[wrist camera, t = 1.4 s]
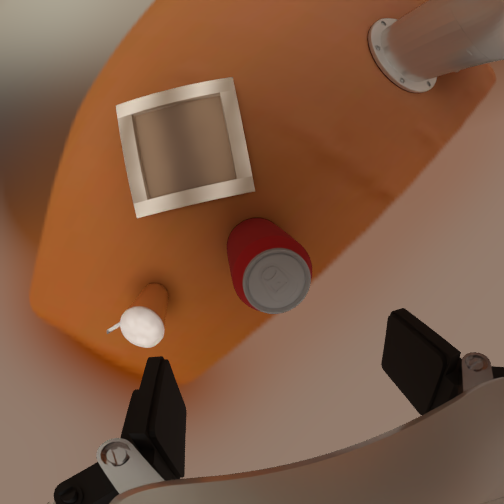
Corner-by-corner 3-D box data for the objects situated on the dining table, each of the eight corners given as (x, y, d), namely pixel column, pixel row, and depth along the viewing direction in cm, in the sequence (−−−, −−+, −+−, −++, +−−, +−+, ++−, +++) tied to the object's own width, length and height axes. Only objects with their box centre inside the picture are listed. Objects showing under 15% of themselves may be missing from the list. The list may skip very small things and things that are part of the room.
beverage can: (252, 283, 34) (272, 336, 23) (213, 244, 32) (214, 282, 21) (294, 246, 34) (334, 282, 22) (257, 204, 32) (283, 220, 20)
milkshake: (132, 273, 32) (105, 310, 22) (175, 280, 33) (162, 321, 23) (131, 306, 33) (107, 351, 23) (171, 313, 34) (160, 361, 24)
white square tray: (230, 89, 28) (232, 76, 24) (249, 189, 31) (255, 191, 27) (127, 113, 27) (115, 105, 23) (146, 212, 30) (137, 218, 26)
